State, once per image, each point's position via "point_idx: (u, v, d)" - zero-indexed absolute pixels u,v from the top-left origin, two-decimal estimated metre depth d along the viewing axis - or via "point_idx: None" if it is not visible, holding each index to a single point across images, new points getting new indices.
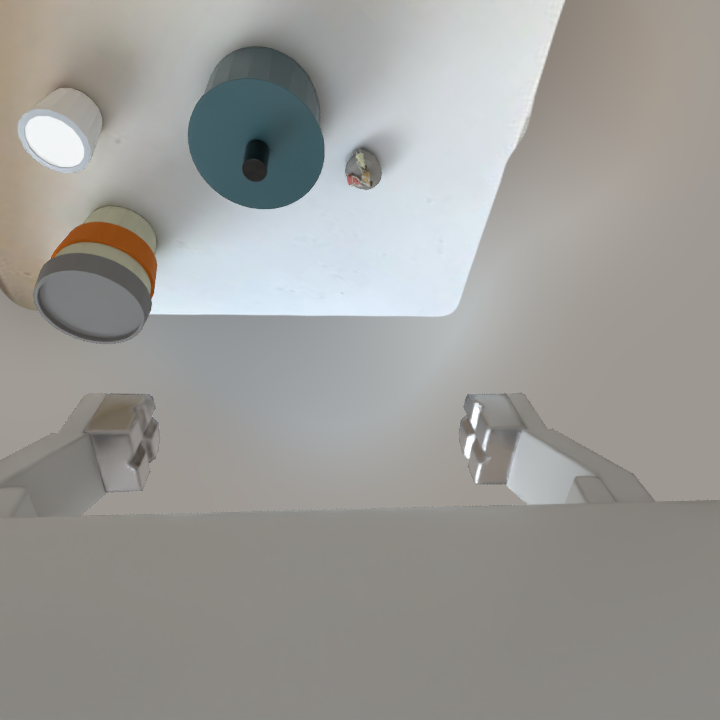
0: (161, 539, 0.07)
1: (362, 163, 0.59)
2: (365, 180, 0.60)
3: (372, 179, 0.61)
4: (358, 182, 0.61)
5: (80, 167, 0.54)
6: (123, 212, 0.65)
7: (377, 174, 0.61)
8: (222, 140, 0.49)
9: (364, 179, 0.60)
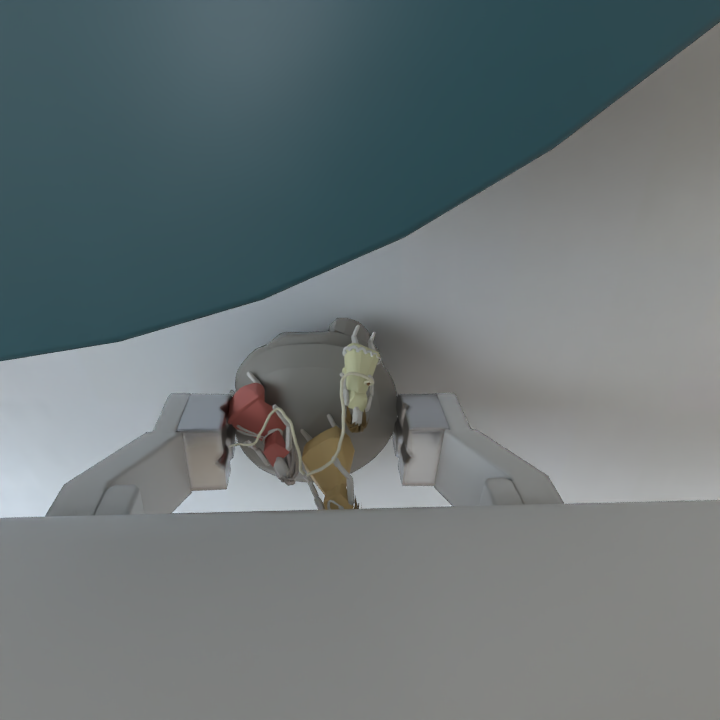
0: (161, 539, 0.07)
1: (362, 397, 0.12)
2: (323, 474, 0.11)
3: None
4: (279, 451, 0.12)
5: None
6: None
7: (353, 461, 0.14)
8: None
9: (319, 464, 0.11)
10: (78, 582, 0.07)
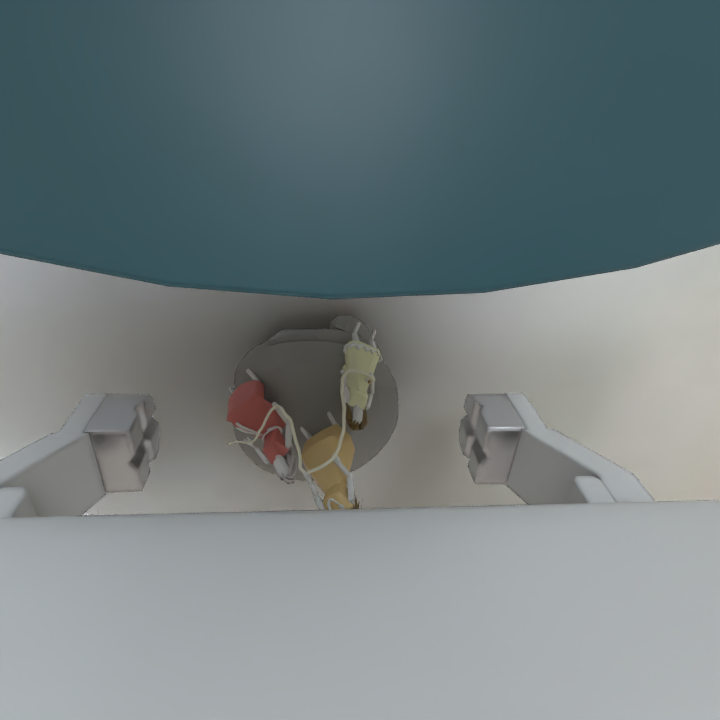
0: (161, 538, 0.07)
1: (363, 395, 0.11)
2: (323, 472, 0.11)
3: None
4: (279, 448, 0.11)
5: None
6: None
7: (353, 460, 0.14)
8: None
9: (319, 462, 0.11)
10: (78, 582, 0.07)
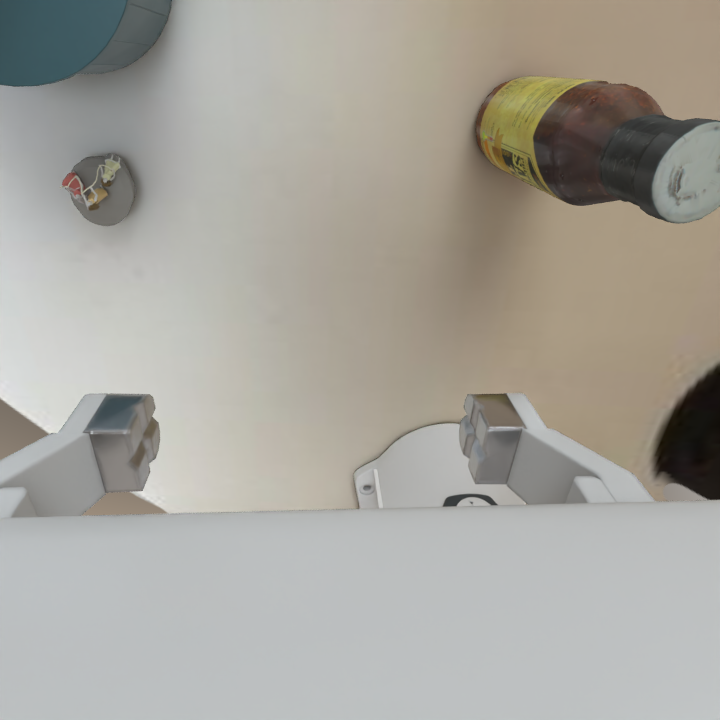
0: (161, 539, 0.07)
1: (108, 174, 0.33)
2: (90, 197, 0.33)
3: (105, 210, 0.35)
4: (78, 192, 0.33)
5: None
6: None
7: (118, 211, 0.35)
8: None
9: (90, 195, 0.33)
10: (78, 582, 0.07)
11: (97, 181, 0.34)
